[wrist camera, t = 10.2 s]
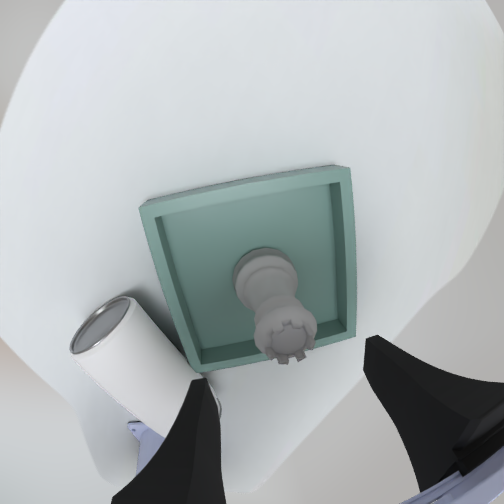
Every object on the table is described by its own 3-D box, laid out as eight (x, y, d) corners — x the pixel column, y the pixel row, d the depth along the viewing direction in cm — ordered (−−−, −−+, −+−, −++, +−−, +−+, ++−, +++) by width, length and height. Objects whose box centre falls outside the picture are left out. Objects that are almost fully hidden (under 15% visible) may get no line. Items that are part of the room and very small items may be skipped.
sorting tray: (344, 320, 24) (355, 336, 22) (194, 353, 23) (193, 373, 21) (334, 164, 19) (350, 167, 17) (147, 200, 18) (138, 207, 16)
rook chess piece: (282, 235, 20) (323, 289, 13) (301, 288, 22) (341, 356, 14) (221, 260, 20) (228, 328, 13) (245, 311, 22) (262, 388, 14)
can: (119, 334, 14) (229, 437, 19) (141, 281, 20) (223, 380, 25) (55, 367, 15) (164, 455, 19) (83, 315, 21) (168, 401, 25)
